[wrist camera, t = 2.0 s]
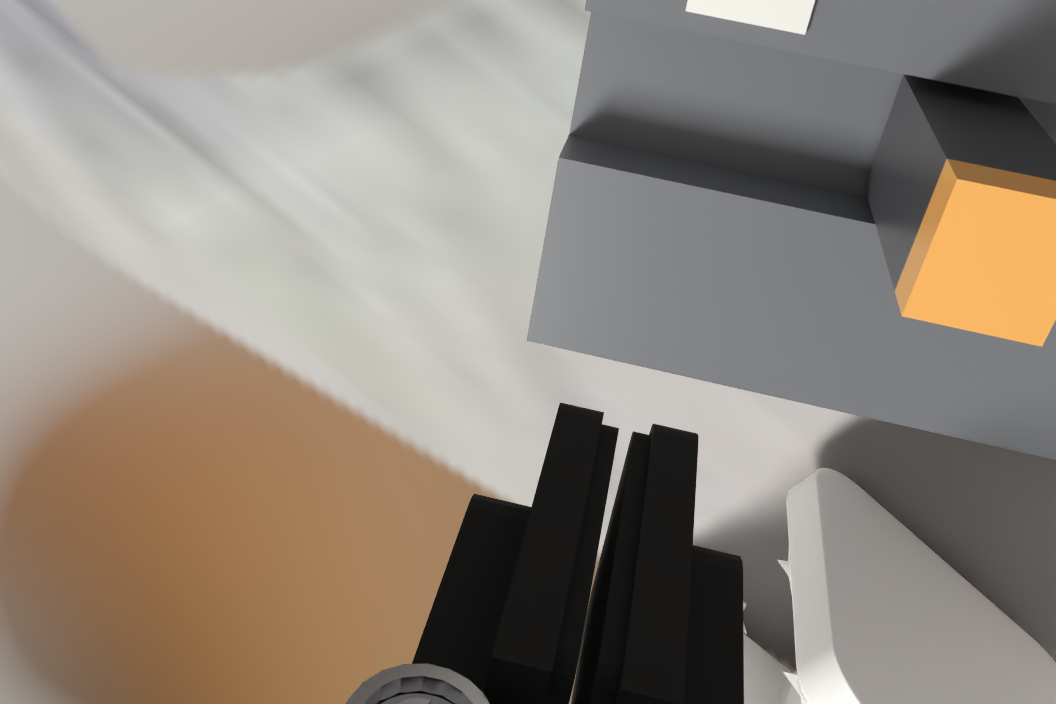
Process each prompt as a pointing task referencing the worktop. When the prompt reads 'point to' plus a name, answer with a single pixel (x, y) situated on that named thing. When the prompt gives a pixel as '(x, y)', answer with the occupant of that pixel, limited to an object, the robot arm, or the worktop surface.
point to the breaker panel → (780, 205)
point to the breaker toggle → (967, 210)
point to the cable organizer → (886, 616)
